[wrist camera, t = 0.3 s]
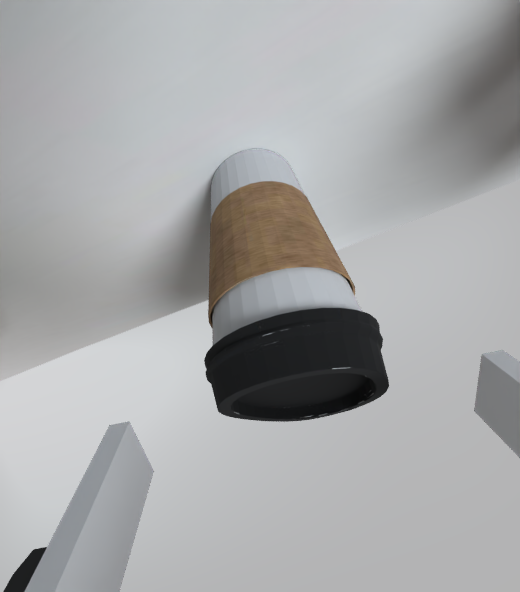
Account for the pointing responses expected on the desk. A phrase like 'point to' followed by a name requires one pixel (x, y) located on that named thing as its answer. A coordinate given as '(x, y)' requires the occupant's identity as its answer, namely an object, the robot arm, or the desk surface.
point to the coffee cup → (282, 302)
